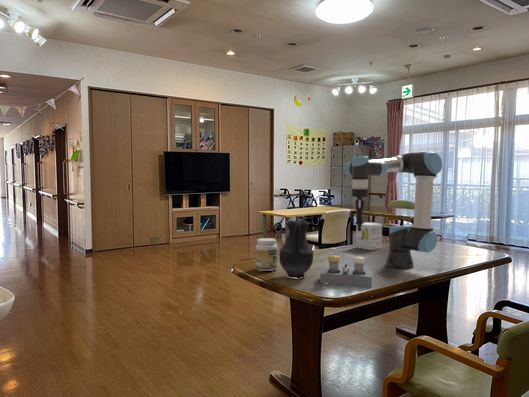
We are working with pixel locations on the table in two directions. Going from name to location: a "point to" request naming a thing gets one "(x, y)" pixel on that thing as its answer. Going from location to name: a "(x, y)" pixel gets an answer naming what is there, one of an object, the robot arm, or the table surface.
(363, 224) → the white canister
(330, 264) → the knob
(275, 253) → the supplement tub
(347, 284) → the mount
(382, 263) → the table surface
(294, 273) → the pitcher
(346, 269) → the potentiometer
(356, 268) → the knob
